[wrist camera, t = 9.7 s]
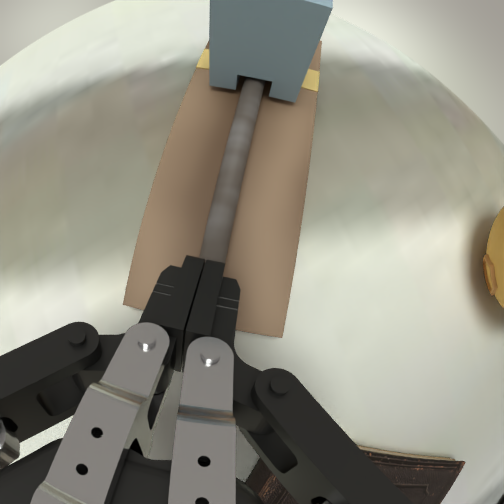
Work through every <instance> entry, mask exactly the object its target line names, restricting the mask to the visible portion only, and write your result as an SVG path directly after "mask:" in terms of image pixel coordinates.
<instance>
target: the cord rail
mask: <svg viewBox="0 0 504 504" xmlns="http://www.w3.org/2000/svg"><path fill="white" fill-rule="evenodd" d="M321 44H322V41H319V43H318V46H317V48H316V51H315V53H314V56H313V58H312V61H311V63H310V66H309V68H308V71H307V74H306V76H305V79H304V81H303V84H302V86H301V89H300V92H299V94H298V97H297V99H296V102H295V103H294V102H290V101H286V100H282V99H278V98H273V97H269V93H270V89H271V85H272V81H267V80H262V79H257V78H252V77H247V76H242V75H240V78H239V81H238V84H237V87H236V90H233V89H228V88H222V87H215V86H209V41H208V44H207V46H206V48H205V49H204V51H203V53H202V55H201V57H200V60H199V62H198V64H197V66H196V70H195V72H194V74H193V76H192V79H191V81H190V83H189V86H188V88H187V91H186V93H185V95H184V98H183V100H182V103H181V105H180V108H179V110H178V113H177V116H176V118H175V121H174V123H173V126H172V129H171V132H170V134H169V137H168V140H167V143H166V146H165V148H164V151H163V154H162V157H161V160H160V163H159V166H158V169H157V172H156V176H155V179H154V182H153V185H152V188H151V192H150V195H149V198H148V202H147V205H146V209H145V212H144V216H143V220H142V223H141V227H140V231H139V235H138V239H137V243H136V247H135V251H134V255H133V259H132V263H131V268H130V272H129V277H128V281H127V286H126V291H125V296H124V301H123V305H126V306H130V307H134V308H138V309H142V310H144V309H145V307H146V305H147V302H148V300H149V298H150V295H151V293H152V292H153V289H154V287H155V284H156V283H157V280H158V278H159V276H160V274H161V272H162V271H163V270H165V269H166V268H167V267H168V266H170V265H172V266H177V267H182V264H183V262H184V259H185V257H186V255H189V256H194V257H199V258H203V259H205V263H206V260H207V259H208V260H213V261H218V262H222V263H225V268H224V272H223V277H228V278H233V279H236V280H237V282H238V284H239V287H240V289H241V291H240V299H239V307H238V314H237V322H236V330H239V331H244V332H250V333H255V334H261V335H267V336H273V337H280V338H282V336H283V331H284V325H285V320H286V314H287V309H288V303H289V298H290V292H291V286H292V280H293V274H294V268H295V262H296V256H297V249H298V243H299V236H300V230H301V223H302V216H303V209H304V202H305V195H306V187H307V180H308V172H309V164H310V156H311V148H312V139H313V130H314V121H315V112H316V102H317V92H318V84H319V73H320V72H319V69H320V57H321Z"/></svg>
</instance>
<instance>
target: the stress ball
mask: <svg viewBox="0 0 504 504" xmlns="http://www.w3.org/2000/svg"><path fill="white" fill-rule="evenodd" d="M483 268H484V275H485V279H486V283H487V287H488V290H489V292H490V294H491V296H493V295H495V297H496V299H497V300H498V302H499V303H500V305H501V306H502V307H503V309H504V207H503V208H502V209H501V210H500V212H499V214H498V215H497V217H496V219H495V221H494V223H493V225H492V228H491V231H490V234H489V238H488V243H487V251H486V255H484V258H483Z"/></svg>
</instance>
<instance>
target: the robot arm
mask: <svg viewBox="0 0 504 504" xmlns="http://www.w3.org/2000/svg"><path fill="white" fill-rule="evenodd" d="M224 268H225V263H222V262H218V261H213V260H208V259H207V260H206V263H205V259H203V258H199V257H194V256H189V255H186V257H185V259H184V262H183V264H182V267H177V266H172V265H170V266H168V267H167V268H166V269H165V270H163V271H162V272H161V274H160V276H159V278H158V280H157V283H156V284H155V287H154V289H153V292H152V293H151V295H150V298H149V300H148V302H147V305H146V307H145V309H144V311H143V314H142V316H141V318H140V321H139V323H138V324H136V325H134V326H132V327H131V328H129V329H128V331H127V332H126V333H124V334H119V335H98V332H97V330H96V329H95V328H94V327H93V326H92V325H90V324H88V323H85V322H74V323H70V324H68V325H66V326H64V327H61V328H59V329H57V330H55V331H53V332H51V333H49V334H46V335H44V336H42V337H40V338H38V339H36V340H34V341H31V342H29V343H27V344H25V345H23V346H21V347H19V348H17V349H14V350H12V351H10V352H8V353H6V354H4V355H2V356H0V504H265V503H264V502H263V501H262V499H261V498H260V497H259V496H258V494H257V493H256V492H255V491H254V490H253V489H252V488H251V487H249V486H248V485H247V484H246V483H244V482H243V481H241V480H239V479H238V478H236V425H237V426H238V427H239V429H240V431H241V432H242V434H243V435H244V436H245V438H246V439H247V440H248V442H249V443H250V444H251V446H252V447H253V448H254V450H255V451H256V452H257V454H258V455H259V456H260V458H261V459H262V460H263V461H264V463H265V464H266V465H267V466H268V468H269V469H270V470H271V471H272V473H273V474H274V475H275V476H276V478H277V479H278V480H279V481H280V482H281V484H282V485H283V486H284V487H285V488H286V489H287V491H288V492H289V493H290V494H291V495H292V496H293V498H294V499H295V500H296V501H297V502H298V503H299V504H413V503H412V502H411V501H410V500H409V499H408V498H407V497H406V496H405V495H404V494H403V493H402V492H401V491H400V490H399V489H398V488H397V487H396V486H395V485H394V484H393V483H392V482H391V481H390V480H389V479H388V478H387V477H386V476H385V475H384V473H383V472H382V471H381V470H380V469H379V468H378V467H377V466H376V465H375V464H374V463H373V462H372V461H371V460H370V459H369V458H368V457H367V456H366V455H365V454H364V453H363V451H362V450H361V449H360V448H359V447H358V446H357V445H356V444H355V443H354V442H353V441H352V440H351V439H350V438H349V436H348V435H347V434H346V433H345V432H344V431H343V430H342V429H341V428H340V427H339V425H338V424H337V423H336V422H335V421H334V420H333V419H332V418H331V417H330V416H329V414H328V413H327V412H326V411H325V410H324V409H323V408H322V407H321V405H320V404H319V403H318V402H317V401H316V400H315V399H314V397H313V396H312V395H311V394H310V393H309V392H308V391H307V389H306V388H305V387H304V386H303V385H302V384H301V383H300V381H299V380H298V379H297V378H296V377H295V376H294V375H293V374H292V373H290V372H288V371H286V370H284V369H280V368H271V369H267V370H264V371H263V372H262V371H260V370H258V369H255V368H253V367H251V366H249V365H247V364H246V363H244V362H243V361H242V360H241V359H240V358H239V357H238V355H237V354H236V352H235V349H234V338H235V330H236V322H237V314H238V307H239V299H240V291H241V289H240V287H239V284H238V282H237V280H236V279H233V278H228V277H223V272H224ZM182 363H183V369H182V372H184V375H183V382H182V389H181V396H180V404H179V410H178V414H177V421H176V429H175V438H174V446H173V456H172V460H151V459H148V456H149V453H150V449H151V445H152V438H153V433H154V430H155V427H156V424H157V421H158V418H159V415H160V412H161V410H162V407H163V404H164V401H165V398H166V395H167V392H168V389H169V385H170V382H171V378H172V374H173V371H174V370H175V371H179V372H180V371H181V367H182ZM72 415H74V416H73V418H72V420H71V422H70V425H69V427H68V429H67V431H66V433H65V435H64V438H60V439H57V440H55V441H52V442H50V443H48V444H47V445H45V446H43V447H41V448H40V449H38V450H36V451H34V452H33V453H31V454H29V455H27V456H25V457H24V458H22V459H20V460H18V461H16V462H14V463H12V462H13V461H14V460H15V459H17V458H18V457H19V455H20V442H22V441H24V440H26V439H28V438H30V437H32V436H34V435H36V434H38V433H40V432H42V431H44V430H46V429H48V428H50V427H52V426H54V425H55V424H57V423H59V422H61V421H63V420H65V419H67V418H69V417H71V416H72ZM10 463H12V464H11V465H9V464H10ZM8 465H9V466H8Z"/></svg>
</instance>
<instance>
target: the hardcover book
mask: <svg viewBox="0 0 504 504" xmlns="http://www.w3.org/2000/svg"><path fill="white" fill-rule="evenodd" d="M357 446H358V445H357ZM358 447H359V448H360V449H361V450H362V451H363V453H364V454H365V455H366V456H367V457H368V458H369V459H370V460H371V461H372V462H373V463H374V464H375V465H376V466H377V467H378V468H379V469H380V470H381V471H382V472H383V473H384V475H385V476H386V477H387V478H388V479H389V480H390V481H391V482H392V483H393V484H394V485H395V486H396V487H397V488H398V489H399V490H400V491H401V492H402V493H403V494H404V495H405V496H406V497H407V498H408V499H409V500H410V501H411V502H412V503H413V504H440V503H441V502H442V500H443V499H444V497H445V496H446V494H447V493H448V491H449V490H450V488H451V486H452V485H453V483H454V482H455V480H456V478H457V477H458V475H459V473H460V471H461V470H462V468H463V466H464V464H465V462H464V461H455V459H450V458H443V457H431V456H421V455H412V454H405V453H398V452H391V451H385V450H379V449H373V448H368V447H363V446H358ZM246 484H247V485H248V486H249V487H251V488H252V489H253V490H254V491H255V492H256V493H257V494H258V496H259V497H260V498H261V499H262V501H263V502H264V503H265V504H299V503H298V502H297V501H296V500H295V499H294V498H293V496H292V495H291V494H290V493H289V492H288V491H287V489H286V488H285V487H284V486H283V485H282V484H281V482H280V481H279V480H278V479H277V478H276V476H275V475H274V474H273V473H272V471H271V470H270V469H269V468H268V466H267V465H266V464H265V463H264V461H263V460H262V459H261V458H260V459H259V461H258V463H257V464H256V466H255V468H254V469H253V471H252V473H251V475H250V476H249V478H248V480H247V481H246Z"/></svg>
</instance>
